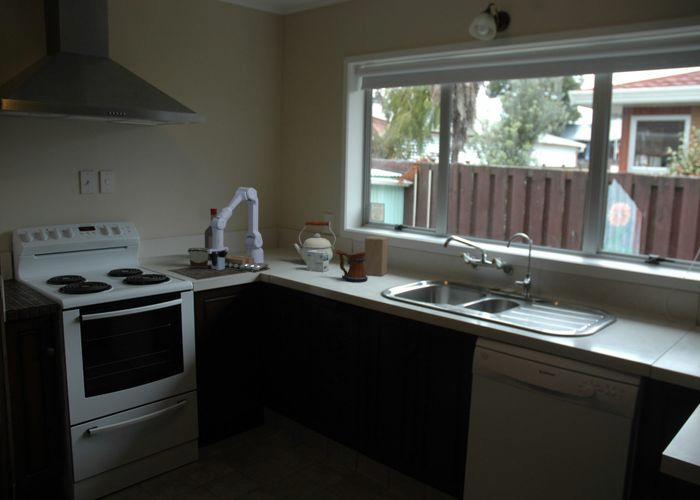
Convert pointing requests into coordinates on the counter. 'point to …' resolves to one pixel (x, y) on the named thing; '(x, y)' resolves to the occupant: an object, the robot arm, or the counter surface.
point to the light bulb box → (318, 260)
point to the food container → (198, 257)
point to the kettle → (315, 242)
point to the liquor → (210, 232)
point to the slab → (239, 260)
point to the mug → (353, 266)
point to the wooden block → (376, 255)
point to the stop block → (219, 264)
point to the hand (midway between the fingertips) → (217, 265)
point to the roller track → (247, 267)
